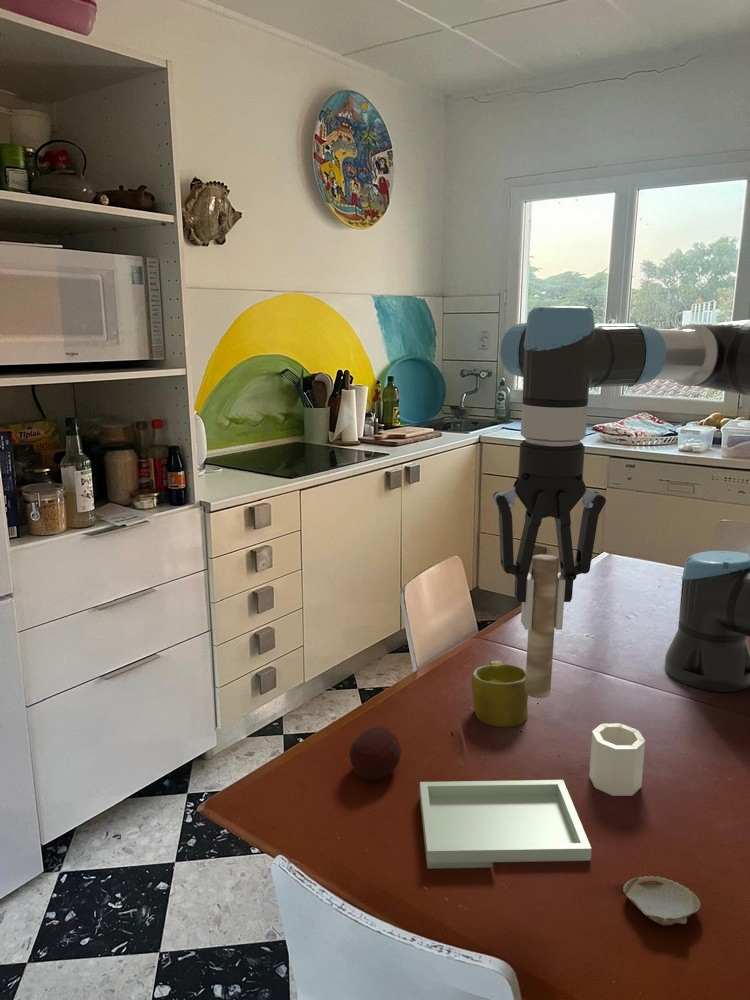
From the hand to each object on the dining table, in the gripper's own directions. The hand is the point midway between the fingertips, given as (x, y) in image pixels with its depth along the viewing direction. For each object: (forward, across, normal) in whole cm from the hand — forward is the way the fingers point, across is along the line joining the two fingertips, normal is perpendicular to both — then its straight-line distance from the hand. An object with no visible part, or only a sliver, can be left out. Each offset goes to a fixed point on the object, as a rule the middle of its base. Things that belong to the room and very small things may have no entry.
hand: (541, 624), depth 96 cm
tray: (+28, +4, +2) cm, 28 cm away
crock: (+28, -14, -7) cm, 31 cm away
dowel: (+9, 0, 0) cm, 9 cm away
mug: (+28, -1, -28) cm, 39 cm away
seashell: (+28, -12, +16) cm, 35 cm away
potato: (+28, +20, -12) cm, 37 cm away
